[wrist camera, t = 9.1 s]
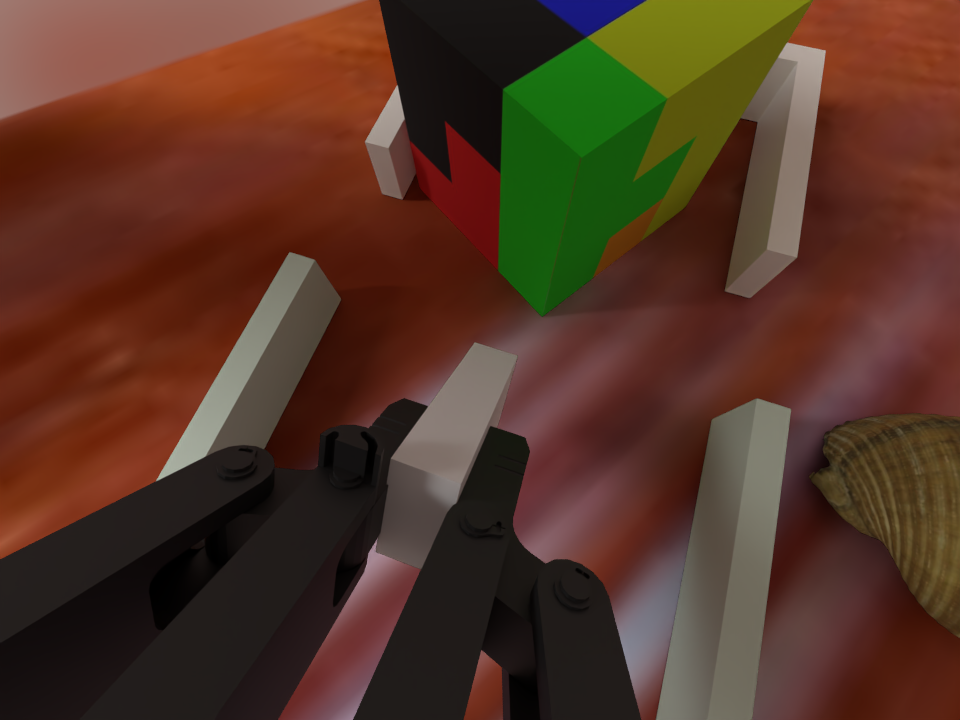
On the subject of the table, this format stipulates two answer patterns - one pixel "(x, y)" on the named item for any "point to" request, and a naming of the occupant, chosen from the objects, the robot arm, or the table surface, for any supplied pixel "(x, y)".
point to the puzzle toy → (573, 118)
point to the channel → (715, 529)
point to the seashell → (903, 498)
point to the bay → (770, 180)
